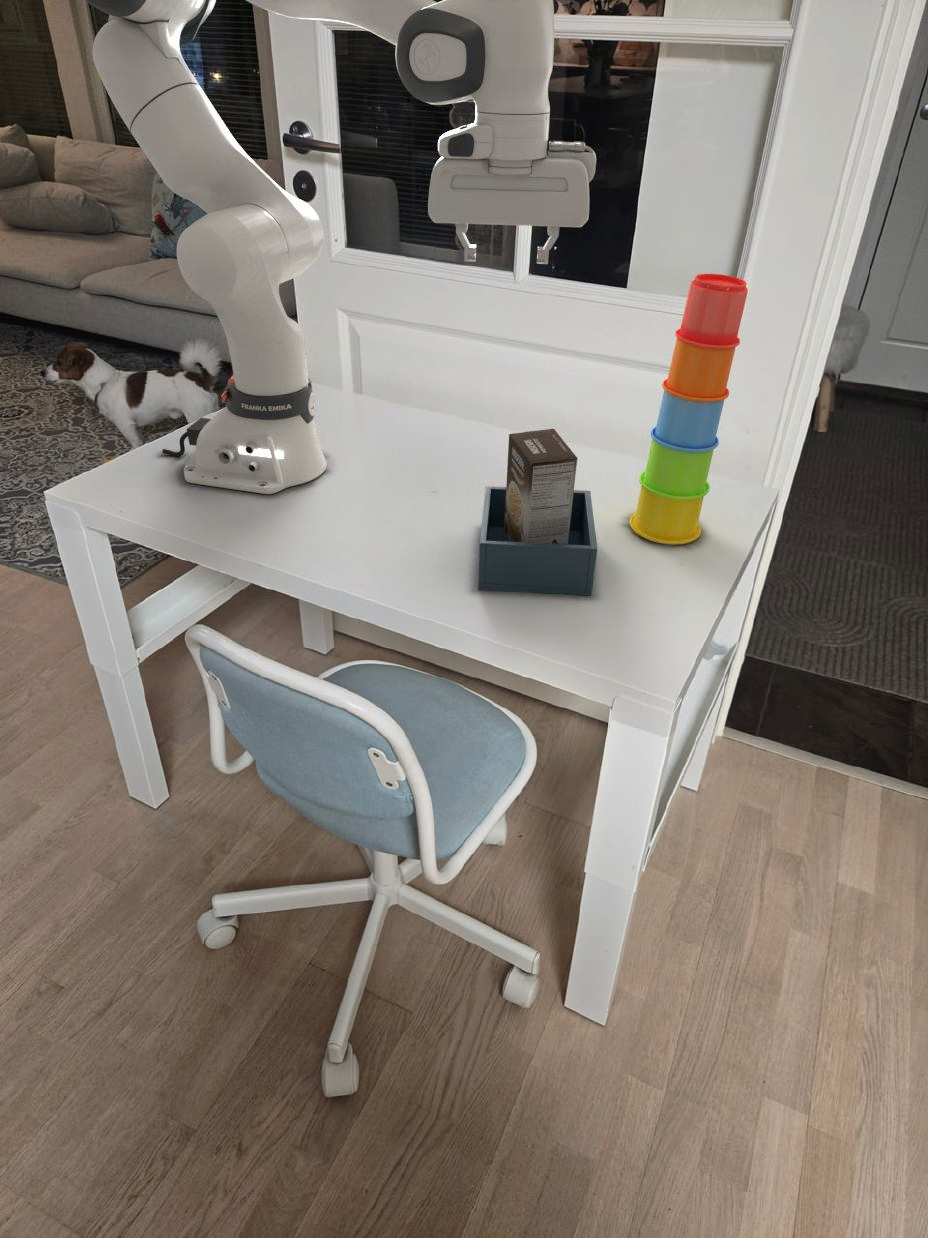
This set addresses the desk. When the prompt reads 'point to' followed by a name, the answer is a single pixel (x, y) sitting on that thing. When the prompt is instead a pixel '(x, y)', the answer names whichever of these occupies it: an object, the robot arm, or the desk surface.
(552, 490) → the coffee box
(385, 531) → the desk surface
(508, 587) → the open square box
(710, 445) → the stacking cups
